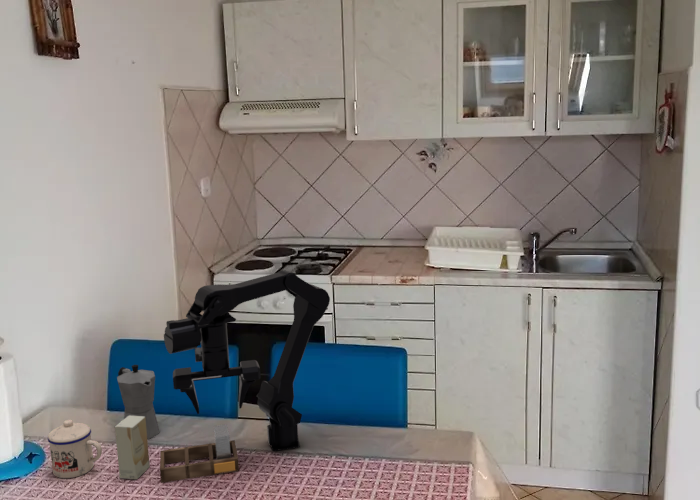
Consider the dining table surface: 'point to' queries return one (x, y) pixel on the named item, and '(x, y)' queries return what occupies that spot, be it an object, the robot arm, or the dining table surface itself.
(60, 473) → the teacup with lid
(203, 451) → the rack
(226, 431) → the grey metallic rectangular block
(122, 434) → the skincare box
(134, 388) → the coffeepot
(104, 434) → the dining table surface
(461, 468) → the dining table surface
